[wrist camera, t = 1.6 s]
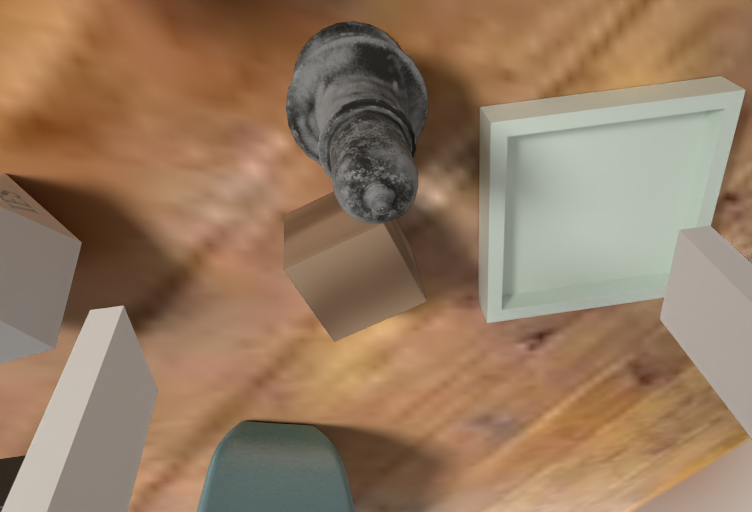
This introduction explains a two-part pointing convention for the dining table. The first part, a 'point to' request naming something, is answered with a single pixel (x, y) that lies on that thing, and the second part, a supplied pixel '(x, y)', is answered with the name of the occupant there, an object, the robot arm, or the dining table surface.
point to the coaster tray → (596, 192)
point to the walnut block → (349, 267)
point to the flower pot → (276, 471)
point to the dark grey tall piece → (360, 117)
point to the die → (32, 273)
